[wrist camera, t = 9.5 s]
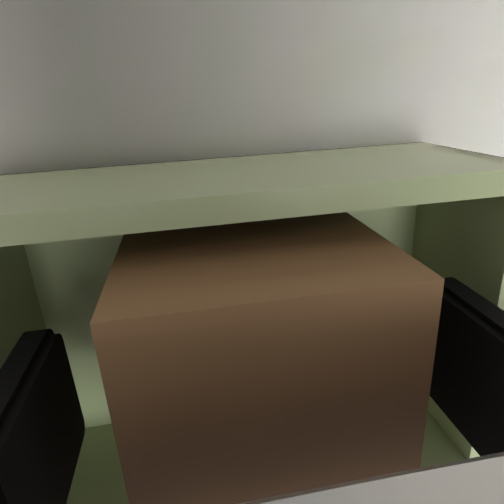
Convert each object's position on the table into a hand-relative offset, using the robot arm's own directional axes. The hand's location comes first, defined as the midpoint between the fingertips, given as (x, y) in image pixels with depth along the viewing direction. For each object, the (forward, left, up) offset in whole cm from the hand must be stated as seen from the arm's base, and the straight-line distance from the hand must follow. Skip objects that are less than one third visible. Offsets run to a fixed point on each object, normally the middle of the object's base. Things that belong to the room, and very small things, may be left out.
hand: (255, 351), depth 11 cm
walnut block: (0, 0, -3) cm, 3 cm away
